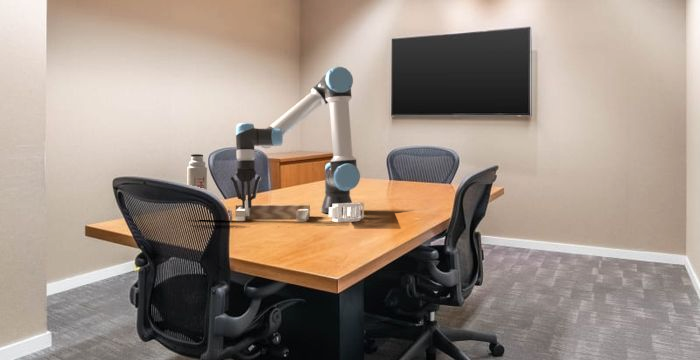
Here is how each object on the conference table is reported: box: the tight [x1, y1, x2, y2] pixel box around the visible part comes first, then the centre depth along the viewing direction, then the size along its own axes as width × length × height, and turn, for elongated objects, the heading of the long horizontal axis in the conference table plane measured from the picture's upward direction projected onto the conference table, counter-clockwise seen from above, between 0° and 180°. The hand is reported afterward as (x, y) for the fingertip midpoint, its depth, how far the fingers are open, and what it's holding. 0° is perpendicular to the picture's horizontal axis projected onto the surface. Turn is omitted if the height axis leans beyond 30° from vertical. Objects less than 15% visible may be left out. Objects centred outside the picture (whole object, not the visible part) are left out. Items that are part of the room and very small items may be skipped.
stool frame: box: [227, 204, 311, 223], centre depth 220 cm, size 35×20×6 cm, turn 89°
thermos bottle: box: [186, 153, 208, 191], centre depth 216 cm, size 8×8×28 cm
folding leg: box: [235, 207, 246, 222], centre depth 216 cm, size 15×4×5 cm, turn 10°
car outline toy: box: [328, 202, 365, 223], centre depth 220 cm, size 20×11×7 cm, turn 137°
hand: (247, 215), depth 217 cm, fingers closed
